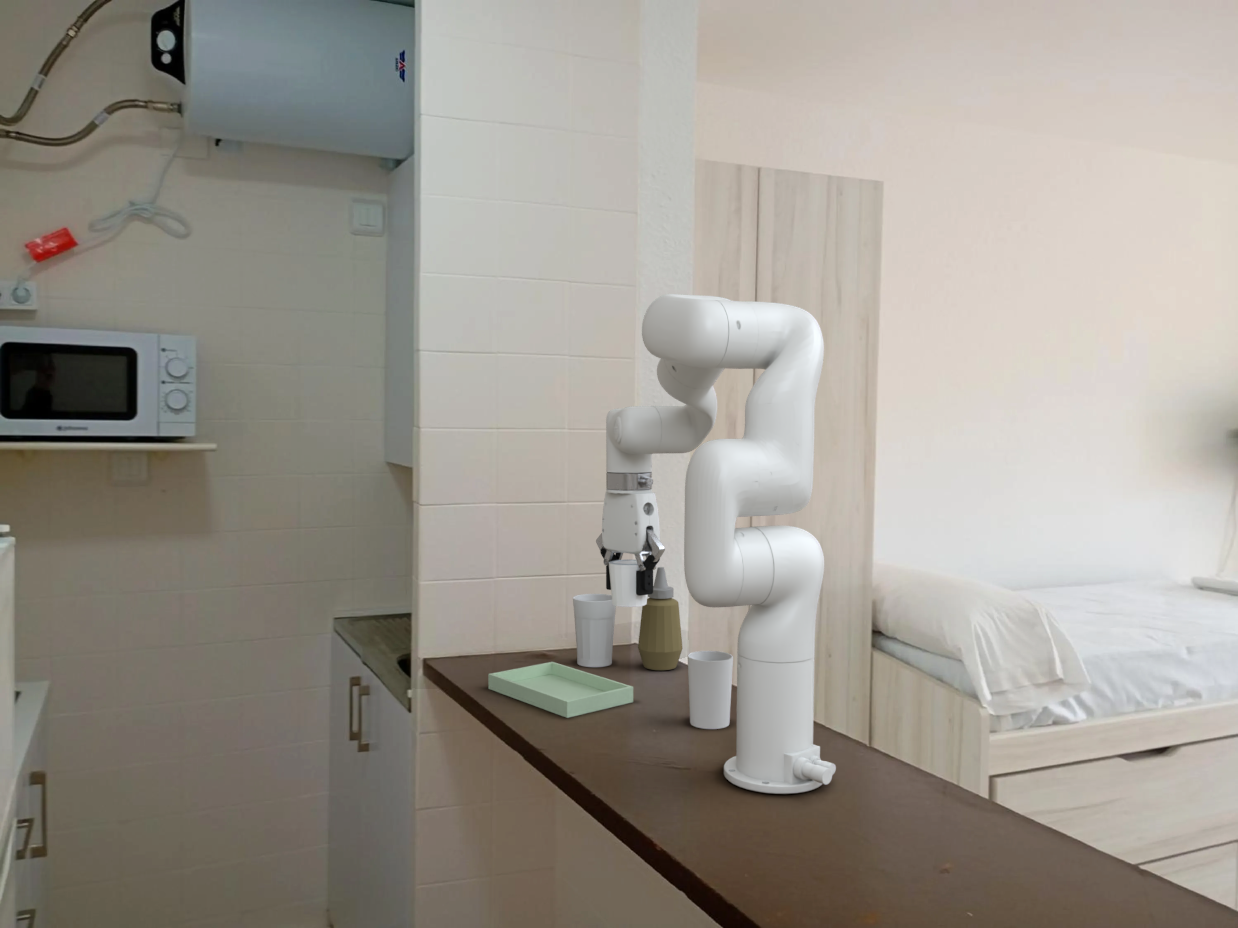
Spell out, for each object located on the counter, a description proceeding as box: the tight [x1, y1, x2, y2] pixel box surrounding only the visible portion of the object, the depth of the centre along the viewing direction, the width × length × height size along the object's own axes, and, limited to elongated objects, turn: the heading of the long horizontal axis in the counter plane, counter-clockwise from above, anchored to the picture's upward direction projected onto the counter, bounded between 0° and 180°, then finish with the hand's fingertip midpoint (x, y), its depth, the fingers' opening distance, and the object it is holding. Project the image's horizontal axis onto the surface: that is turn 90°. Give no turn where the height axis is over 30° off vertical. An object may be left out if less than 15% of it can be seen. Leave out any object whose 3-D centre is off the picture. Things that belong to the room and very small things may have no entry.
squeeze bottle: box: [637, 566, 683, 671], centre depth 184 cm, size 8×8×18 cm
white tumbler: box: [687, 650, 734, 730], centre depth 152 cm, size 7×7×10 cm
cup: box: [572, 593, 617, 668], centre depth 188 cm, size 8×8×12 cm
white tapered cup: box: [609, 559, 648, 608], centre depth 170 cm, size 7×7×7 cm
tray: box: [487, 661, 634, 719], centre depth 166 cm, size 21×13×2 cm, turn 41°
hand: (629, 590), depth 170 cm, fingers closed on white tapered cup, 6 cm apart
